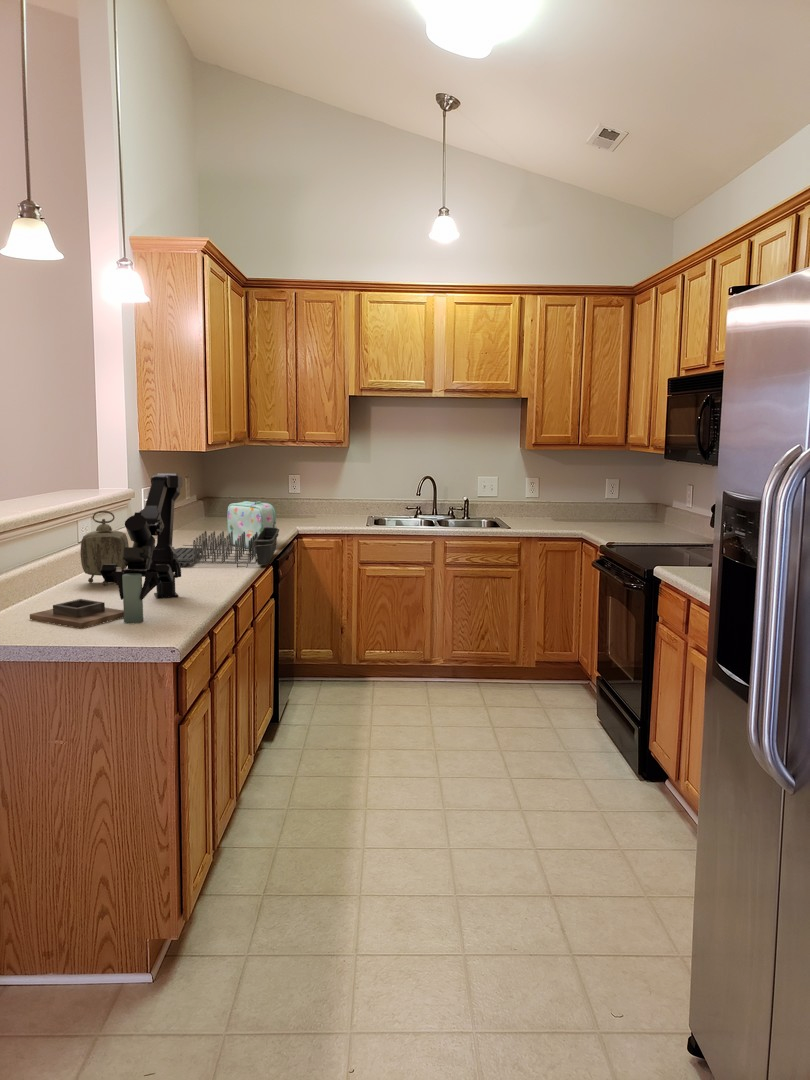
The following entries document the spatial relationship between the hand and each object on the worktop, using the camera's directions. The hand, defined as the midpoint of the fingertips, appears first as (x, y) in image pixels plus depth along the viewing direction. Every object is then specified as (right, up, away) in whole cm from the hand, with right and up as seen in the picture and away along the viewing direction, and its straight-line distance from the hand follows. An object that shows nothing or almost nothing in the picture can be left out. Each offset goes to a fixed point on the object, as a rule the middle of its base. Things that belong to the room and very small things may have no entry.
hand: (131, 598), depth 209 cm
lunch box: (+6, +12, +139) cm, 140 cm away
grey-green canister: (0, -6, +2) cm, 7 cm away
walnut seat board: (-16, -6, +5) cm, 18 cm away
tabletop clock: (-27, +1, +52) cm, 59 cm away
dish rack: (0, +7, +101) cm, 102 cm away
